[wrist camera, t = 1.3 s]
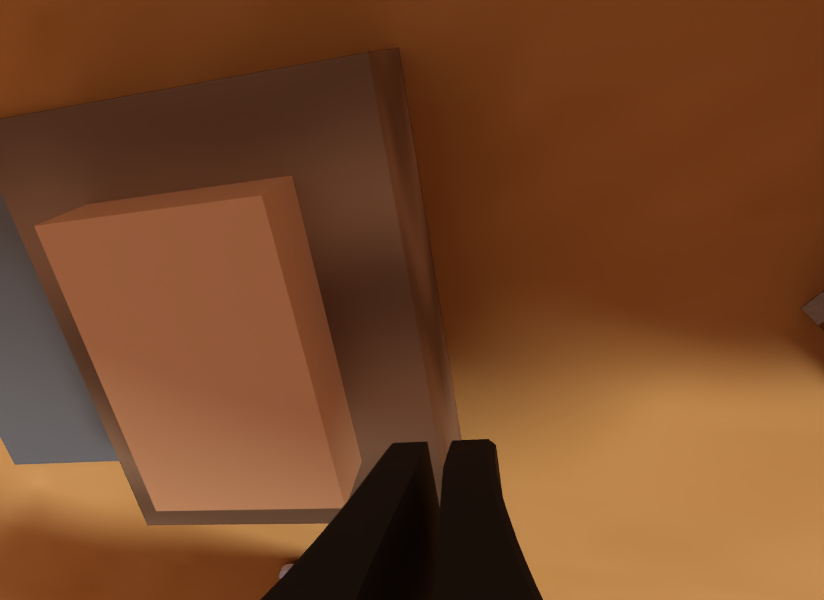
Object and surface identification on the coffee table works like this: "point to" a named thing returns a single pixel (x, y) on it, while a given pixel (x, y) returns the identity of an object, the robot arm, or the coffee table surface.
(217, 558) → the coffee table surface
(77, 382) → the mat
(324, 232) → the brown flat block
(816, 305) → the tall white column
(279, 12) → the coffee table surface
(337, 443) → the tan rectangular brick
